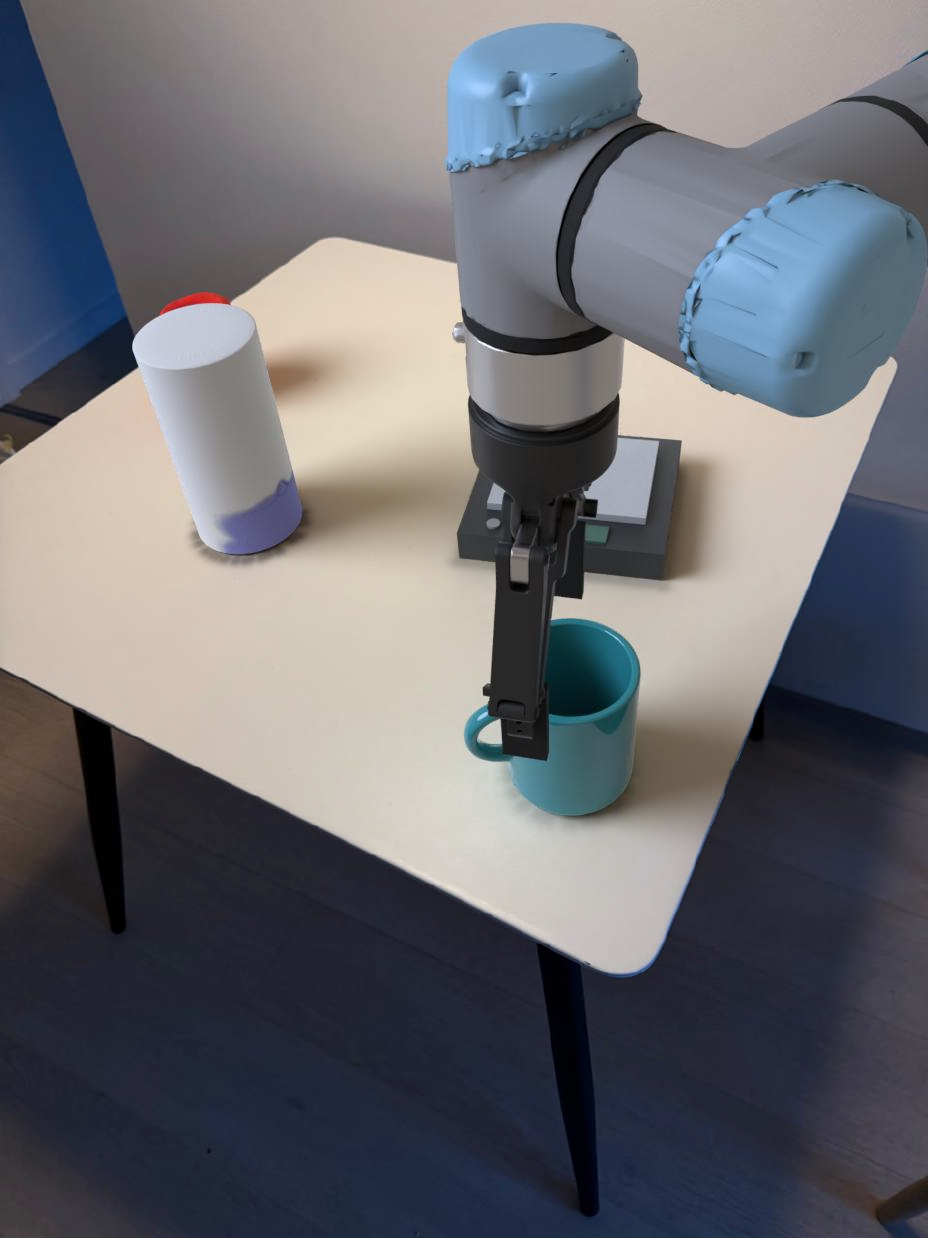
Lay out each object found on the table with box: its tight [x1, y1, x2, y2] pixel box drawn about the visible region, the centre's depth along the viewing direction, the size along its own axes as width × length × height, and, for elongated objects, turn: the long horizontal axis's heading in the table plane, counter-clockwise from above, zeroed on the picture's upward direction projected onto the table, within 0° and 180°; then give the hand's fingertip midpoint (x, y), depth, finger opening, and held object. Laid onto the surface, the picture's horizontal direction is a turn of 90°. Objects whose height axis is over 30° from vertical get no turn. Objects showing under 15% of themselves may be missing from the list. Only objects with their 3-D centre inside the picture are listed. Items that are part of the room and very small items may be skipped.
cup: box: [463, 617, 642, 817], centre depth 68 cm, size 9×12×11 cm
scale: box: [456, 434, 683, 581], centre depth 91 cm, size 18×16×4 cm
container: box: [131, 303, 303, 555], centre depth 87 cm, size 10×10×20 cm
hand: (546, 668), depth 64 cm, fingers open, 13 cm apart
